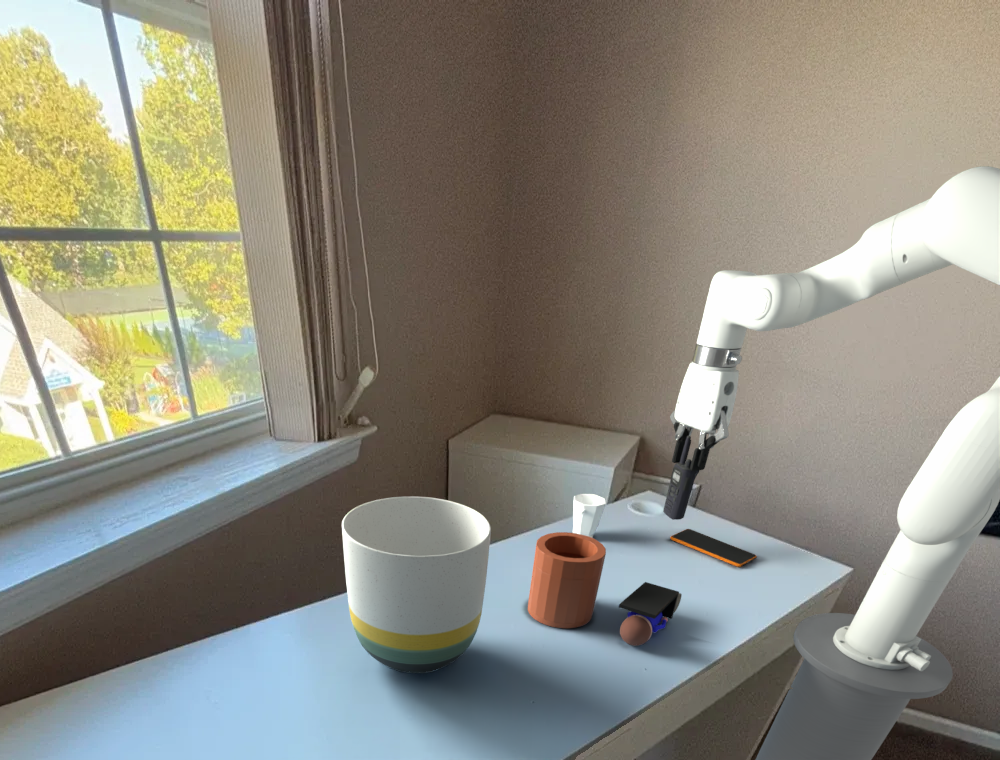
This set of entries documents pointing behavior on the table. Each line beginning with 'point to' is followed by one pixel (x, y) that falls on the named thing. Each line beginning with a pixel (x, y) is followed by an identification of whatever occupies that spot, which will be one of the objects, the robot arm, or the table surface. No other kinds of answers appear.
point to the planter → (415, 579)
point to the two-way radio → (680, 486)
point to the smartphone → (713, 547)
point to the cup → (587, 513)
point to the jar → (565, 579)
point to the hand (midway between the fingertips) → (687, 464)
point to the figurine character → (647, 612)
